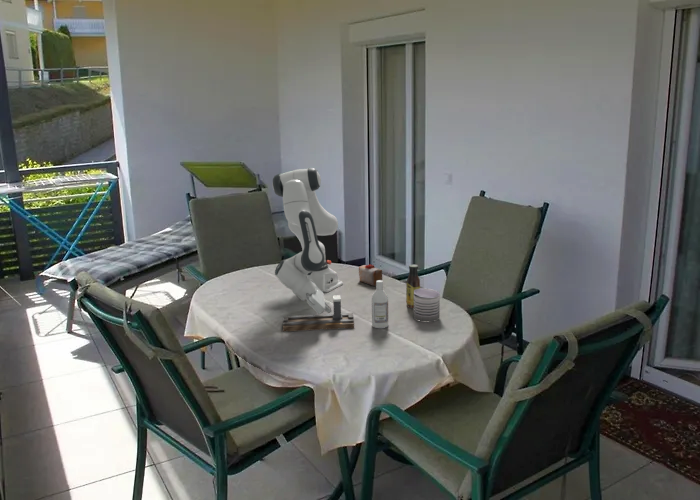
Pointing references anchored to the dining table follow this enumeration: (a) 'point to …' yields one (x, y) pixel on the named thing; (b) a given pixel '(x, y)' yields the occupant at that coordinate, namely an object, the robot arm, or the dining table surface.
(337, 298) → the fader knob
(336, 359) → the dining table surface
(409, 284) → the sauce bottle
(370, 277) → the food item
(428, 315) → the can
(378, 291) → the bath foam
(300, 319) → the fader console
